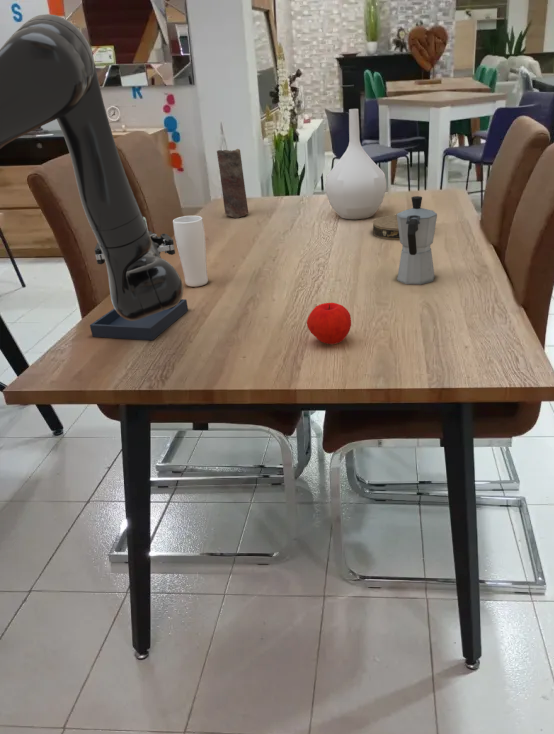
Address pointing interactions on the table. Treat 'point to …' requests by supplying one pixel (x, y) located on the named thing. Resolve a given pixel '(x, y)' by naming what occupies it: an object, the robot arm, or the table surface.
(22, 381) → the table surface
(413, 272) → the coffee maker
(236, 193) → the candle
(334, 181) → the vase
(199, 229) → the drinking glass
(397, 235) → the tambourine
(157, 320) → the tray
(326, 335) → the apple
